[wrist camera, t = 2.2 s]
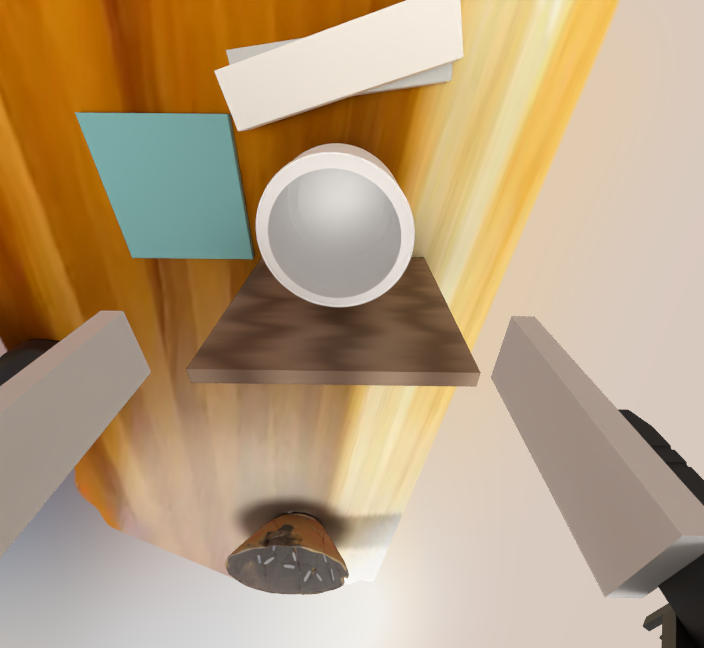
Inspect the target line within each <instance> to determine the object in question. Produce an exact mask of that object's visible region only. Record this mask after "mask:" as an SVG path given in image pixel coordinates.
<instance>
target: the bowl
mask: <svg viewBox="0 0 704 648" xmlns="http://www.w3.org/2000/svg"><path fill="white" fill-rule="evenodd" d="M293 547H294V548H293ZM226 569H227V571H228V573H229V575H231V576H232V577H233V578H235V579H236V580H238V581H239V582H240V583H242V584H244V585H246V586H248V587H251V588H254V589H257V590H261V591H265V592H271V593H280V594H302V595H304V594H318V593H323V592H326V591H329V590H334V589H337V588H339V587H341V586H342V585H343V584H344V579H343V578H344V577H346V578H348V576H349V574H348V570H347V567H346V565H345V562H344V560H343V559H342V557H341V555H340V554H339V552H338V550H337V548H336V547H335V545H334V543H333V541H332V540H331V538H330V537H329V536H328V534H327V532H326V531H325V529H324V527H323V526H322V525H321V524H320V523H319V522H318V521H317V520H316V519H315V518H313V517H311V516H309V515H306V514H301V513H291V514H285V515H282V516H279V517H278V518H275V519H273V520H271V521H270V522H268V523H267V524H265V525H264V526H263V527H261V528H260V529H259V530H257V531H256V532H255V533H254V534H253V535H252V536H251V537H250V538H249V539H247V540H246V541H245V542H244V543H243V544H242V545H240V546H239V547H238V548H237V549H236V550H235V551H234V552H233V553H232V554H231V555H230V556H229V557H228V558H227V560H226Z"/></svg>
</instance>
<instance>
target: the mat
mask: <svg viewBox="0 0 704 648" xmlns="http://www.w3.org/2000/svg"><path fill="white" fill-rule="evenodd" d="M75 114H76V116H77V119H78V121H79V124H80V126H81V129H82V132H83V134H84V137H85V139H86V142H87V144H88V147H89V149H90V152H91V154H92V157H93V159H94V162H95V164H96V167H97V170H98V172H99V175H100V177H101V180H102V182H103V185H104V187H105V190H106V192H107V195H108V197H109V200H110V203H111V205H112V208H113V210H114V213H115V215H116V218H117V220H118V223H119V225H120V228H121V230H122V233H123V235H124V238H125V241H126V243H127V246H128V248H129V251H130V253H131V256H132V258H195V259H253V258H254V251H253V245H252V239H251V233H250V227H249V222H248V216H247V210H246V204H245V198H244V192H243V186H242V181H241V175H240V169H239V163H238V157H237V151H236V145H235V139H234V134H233V128H232V122H231V116H230V114H178V113H75Z"/></svg>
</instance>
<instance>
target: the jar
mask: <svg viewBox="0 0 704 648" xmlns="http://www.w3.org/2000/svg"><path fill="white" fill-rule="evenodd" d="M256 236H257V242H258V246H259V249H260V252H261V255H262V257H263V259H264V261H265V263H266V265H267V267H268V268H269V270H270V271H271V273H272V274H273V275H274V276H275V278H276V279H277V280H278V281H279V282H280V283H281V284H282V285H283V286H284V287H286V288H287V289H288V290H289V291H291V292H292V293H294V294H295V295H297V296H299V297H301V298H303V299H305V300H307V301H309V302H312V303H315V304H319V305H323V306H329V307H350V306H356V305H360V304H363V303H366V302H369V301H371V300H373V299H375V298H377V297H379V296H381V295H382V294H384V293H385V292H386V291H388V290H389V289H390V288H391V287H392V286H393V285H394V284H395V283H396V282H397V281H398V280H399V279H400V277H401V276H402V274H403V273H404V271H405V270H406V268H407V266H408V264H409V261H410V259H411V255H412V252H413V247H414V240H415V227H414V220H413V215H412V212H411V208H410V206H409V203H408V201H407V199H406V197H405V195H404V193H403V192H402V190H401V189H400V187H399V186H398V184H397V182H396V180H395V178H394V177H393V175H392V173H391V172H390V171H389V169H388V168H387V167H386V166H385V165H384V164H383V163H382V162H381V161H380V160H379V159H378V158H376V157H375V156H374V155H372V154H371V153H369V152H367V151H366V150H364V149H361V148H359V147H356V146H353V145H348V144H341V143H332V144H324V145H320V146H317V147H314V148H311V149H309V150H307V151H305V152H304V153H302V154H300V155H299V156H298V157H296V158H295V159H294V160H293V161H291V162H290V163H288V164H287V165H285V166H284V167H283V168H282V169H281V170H279V171H278V172H277V173H276V174H275V176H274V177H273V178H272V179H271V181H270V182H269V183H268V185H267V187H266V188H265V190H264V192H263V195H262V197H261V199H260V202H259V205H258V209H257V215H256Z"/></svg>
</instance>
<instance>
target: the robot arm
mask: <svg viewBox="0 0 704 648" xmlns="http://www.w3.org/2000/svg"><path fill="white" fill-rule="evenodd" d="M150 373H151V371H150V368H149V366H148V364H147V362H146V360H145V357H144V355H143V353H142V351H141V349H140V346H139V344H138V342H137V340H136V338H135V335H134V333H133V331H132V329H131V327H130V324H129V322H128V320H127V318H126V316H125V313H124V311H100V312H98V313H97V314H96V315H94V316H93V317H92V318H90V319H89V320H88V321H86V322H85V323H84V324H82V325H81V326H80V327H78V328H77V329H76V330H74V331H73V332H72V333H70V334H69V335H68V336H66V337H65V338H64V339H63V340H61V341H60V342H56V341H50V340H29V341H25V342H22V343H20V344H18V345H17V346H15V347H14V348H12V349H11V350H9V351H8V352H6V353H5V354H4V355H2V356H1V357H0V558H1V557H2V556H3V554H4V553H5V552H6V551H7V549H8V548H9V547H10V546H11V545H12V543H13V542H14V541H15V540H16V538H17V537H18V536H19V534H20V533H21V532H22V531H23V529H24V528H25V527H26V526H27V525H28V524H29V522H30V521H31V520H32V519H33V517H34V516H35V515H36V514H37V512H38V511H39V510H40V509H41V508H42V506H43V505H44V504H45V503H46V501H47V500H48V499H49V498H50V496H51V495H52V494H53V493H54V491H55V490H56V489H57V488H58V487H59V485H60V484H61V483H62V482H63V480H64V479H65V478H66V477H67V475H68V474H69V473H70V472H71V470H72V469H73V468H74V467H75V466H76V464H77V463H78V462H79V461H80V459H81V458H82V457H83V456H84V454H85V453H86V452H87V451H88V449H89V448H90V447H91V446H92V445H93V443H94V442H95V441H96V440H97V438H98V437H99V436H100V435H101V433H102V432H103V431H104V430H105V428H106V427H107V426H108V425H109V424H110V422H111V421H112V420H113V419H114V417H115V416H116V415H117V414H118V412H119V411H120V410H121V409H122V408H123V406H124V405H125V404H126V403H127V401H128V400H129V399H130V398H131V396H132V395H133V394H134V393H135V391H136V390H137V389H138V388H139V387H140V385H141V384H142V383H143V382H144V380H145V379H146V378H147V377H148V375H149V374H150ZM491 378H492V380H493V382H494V384H495V386H496V388H497V390H498V392H499V394H500V395H501V397H502V399H503V401H504V403H505V405H506V407H507V409H508V411H509V413H510V414H511V417H512V419H513V421H514V423H515V424H516V426H517V428H518V430H519V432H520V434H521V436H522V438H523V440H524V442H525V444H526V446H527V447H528V450H529V452H530V453H531V455H532V457H533V459H534V461H535V463H536V465H537V467H538V469H539V471H540V473H541V474H542V477H543V479H544V480H545V482H546V484H547V486H548V488H549V490H550V492H551V494H552V496H553V498H554V500H555V502H556V504H557V506H558V507H559V509H560V511H561V513H562V515H563V517H564V519H565V521H566V523H567V525H568V527H569V529H570V531H571V533H572V535H573V537H574V538H575V540H576V542H577V544H578V546H579V548H580V550H581V552H582V554H583V556H584V558H585V560H586V561H587V564H588V565H589V567H590V569H591V571H592V573H593V575H594V577H595V579H596V581H597V583H598V585H599V587H600V589H601V591H602V592H603V595H604V596H605V597H606V598H607V597H609V598H610V597H611V598H643V597H645V596H646V595H647V594H649V593H650V592H652V591H653V590H655V589H656V588H657V587H659V588H660V590H661V591H662V593H663V594H664V596H665V598H666V599H667V601H668V602H669V603H668V604H667V605H665V606H663V607H662V608H660V609H658V610H657V611H655V612H654V613H652V614H651V615H649V616H647V617H646V619H645V622H644V624H643V627H644V628H646V629H647V630H648V631H651V630H652V629H654V628H656V627H657V626H659V625H661V624H662V635H661V636H660V639H661V640H662V648H704V480H703V479H702V478H701V477H700V476H699V475H698V474H697V473H696V472H695V471H694V470H693V469H692V468H691V467H688V466H687V464H686V461H685V460H684V459H683V458H682V457H681V456H680V455H679V454H678V453H677V452H676V451H675V450H672V449H671V446H670V445H669V444H668V442H666V440H665V439H664V438H663V437H662V436H661V435H660V434H659V433H658V432H657V431H656V430H655V429H654V428H653V427H652V426H651V425H649V424H648V423H647V422H645V421H644V420H642V419H641V418H639V417H638V416H637V415H635V414H634V413H632V412H631V411H629V410H617V408H616V407H615V406H614V405H613V404H612V403H611V402H610V401H609V400H608V398H607V397H606V396H605V395H604V394H603V393H602V392H601V391H600V389H599V388H598V387H597V386H596V385H595V384H594V383H593V382H592V380H591V379H590V378H589V377H588V376H587V375H586V374H585V373H584V372H583V370H582V369H581V368H580V367H579V366H578V365H577V364H576V363H575V361H574V360H572V358H571V357H570V356H569V355H568V354H567V353H566V351H565V350H564V349H563V348H562V347H561V346H560V345H559V344H558V343H557V341H556V340H555V339H554V338H553V337H552V336H551V335H550V334H549V333H548V331H547V330H546V329H545V328H544V327H543V326H542V325H541V323H540V322H539V321H538V320H537V319H536V318H535V317H525V316H523V317H522V316H521V317H520V316H519V317H518V316H512V317H511V320H510V323H509V326H508V328H507V332H506V334H505V337H504V340H503V344H502V346H501V349H500V352H499V355H498V358H497V361H496V364H495V367H494V370H493V373H492V376H491Z"/></svg>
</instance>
